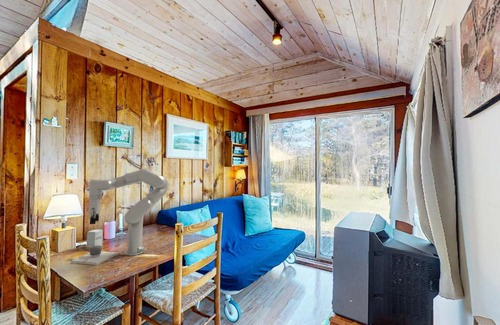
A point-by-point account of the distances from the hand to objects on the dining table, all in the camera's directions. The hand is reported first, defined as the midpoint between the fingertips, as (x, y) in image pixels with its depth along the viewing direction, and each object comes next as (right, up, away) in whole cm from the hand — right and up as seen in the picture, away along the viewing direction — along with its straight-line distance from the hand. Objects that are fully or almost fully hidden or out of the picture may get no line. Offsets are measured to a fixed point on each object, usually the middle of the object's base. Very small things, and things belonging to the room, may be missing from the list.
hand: (94, 222), depth 163 cm
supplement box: (-9, -23, +14) cm, 28 cm away
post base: (+6, -22, -8) cm, 24 cm away
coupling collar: (+1, -19, -7) cm, 20 cm away
